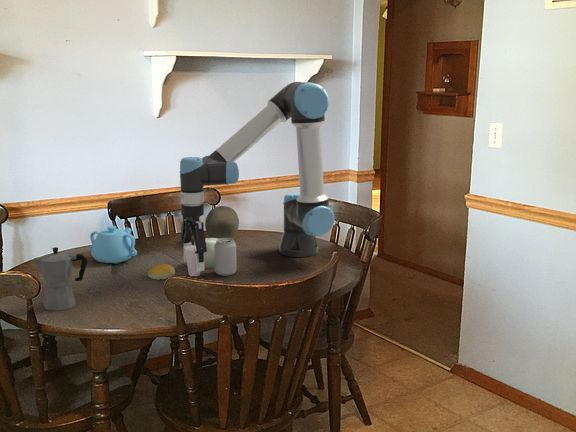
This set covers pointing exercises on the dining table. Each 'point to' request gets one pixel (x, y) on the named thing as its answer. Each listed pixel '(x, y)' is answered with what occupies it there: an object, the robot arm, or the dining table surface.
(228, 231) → the cantaloupe
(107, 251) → the teapot
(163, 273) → the bread roll
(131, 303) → the dining table surface
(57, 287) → the coffeepot
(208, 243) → the sage mug
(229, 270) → the can
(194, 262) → the smoothie
